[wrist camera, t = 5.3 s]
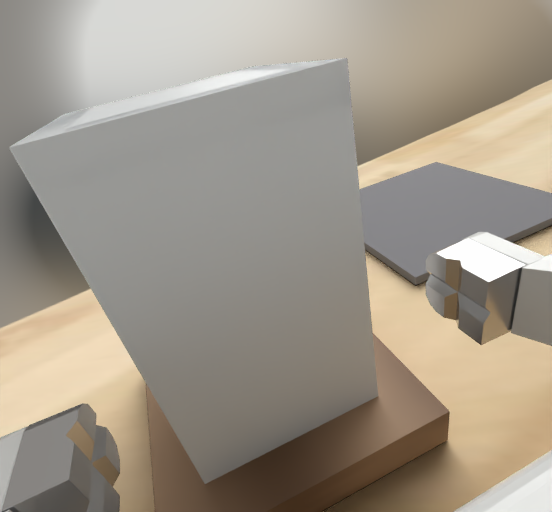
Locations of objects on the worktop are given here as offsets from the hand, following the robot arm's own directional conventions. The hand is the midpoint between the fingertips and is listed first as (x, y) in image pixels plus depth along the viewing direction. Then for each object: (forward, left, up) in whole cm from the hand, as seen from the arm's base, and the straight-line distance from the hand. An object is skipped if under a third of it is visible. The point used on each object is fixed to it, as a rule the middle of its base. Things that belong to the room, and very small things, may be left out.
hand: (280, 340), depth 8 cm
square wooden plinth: (0, -4, -6) cm, 7 cm away
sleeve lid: (0, -4, -5) cm, 6 cm away
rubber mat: (-15, -12, -6) cm, 20 cm away
